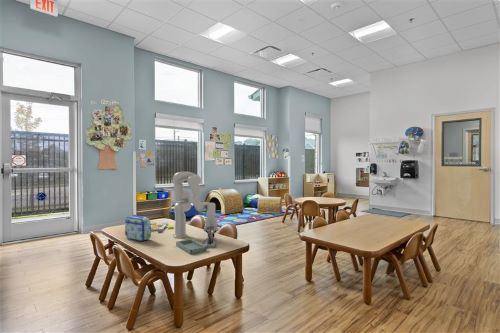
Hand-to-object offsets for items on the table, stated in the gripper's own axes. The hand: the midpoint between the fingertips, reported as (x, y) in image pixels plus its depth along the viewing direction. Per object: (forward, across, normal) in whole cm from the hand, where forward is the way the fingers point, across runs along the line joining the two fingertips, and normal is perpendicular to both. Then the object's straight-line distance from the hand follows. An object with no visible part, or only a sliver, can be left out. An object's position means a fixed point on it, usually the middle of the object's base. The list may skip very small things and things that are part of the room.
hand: (211, 237), depth 239 cm
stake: (+3, 0, +13) cm, 13 cm away
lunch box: (+3, +66, -10) cm, 67 cm away
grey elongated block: (+3, 0, +9) cm, 9 cm away
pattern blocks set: (+3, +60, -47) cm, 76 cm away
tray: (+3, +15, +19) cm, 24 cm away
